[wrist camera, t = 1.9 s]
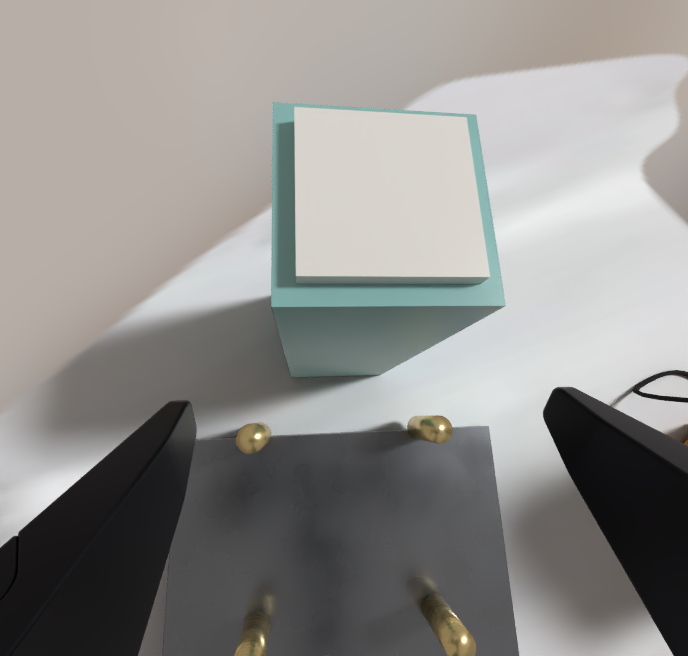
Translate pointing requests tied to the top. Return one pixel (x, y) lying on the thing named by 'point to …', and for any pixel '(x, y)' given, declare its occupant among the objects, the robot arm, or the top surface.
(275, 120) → the plate
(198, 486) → the plate
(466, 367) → the top surface
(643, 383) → the multimeter
